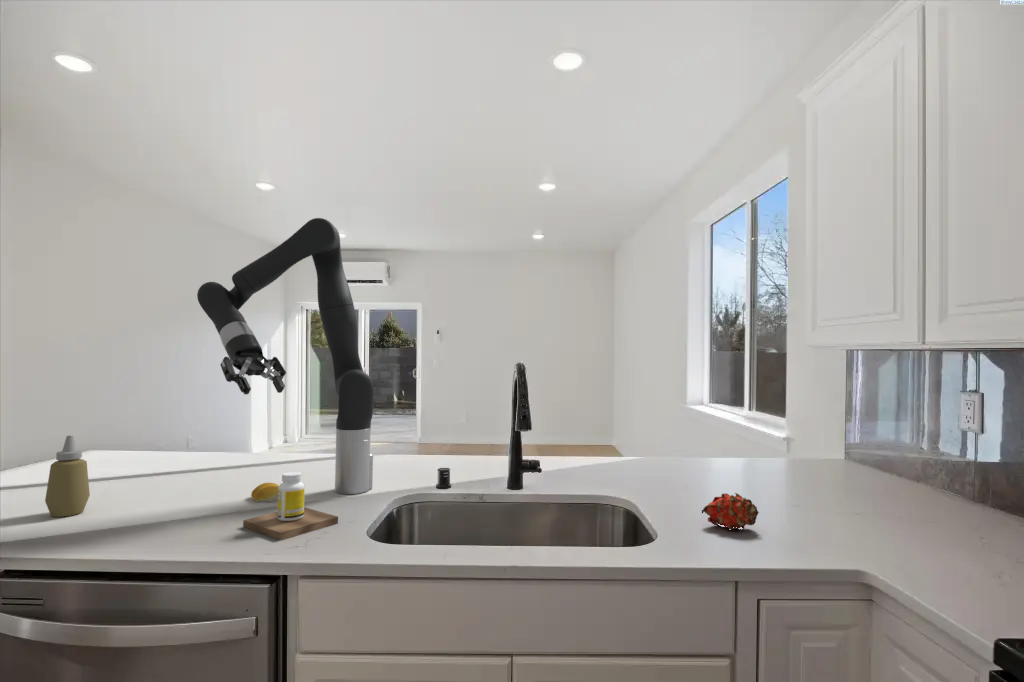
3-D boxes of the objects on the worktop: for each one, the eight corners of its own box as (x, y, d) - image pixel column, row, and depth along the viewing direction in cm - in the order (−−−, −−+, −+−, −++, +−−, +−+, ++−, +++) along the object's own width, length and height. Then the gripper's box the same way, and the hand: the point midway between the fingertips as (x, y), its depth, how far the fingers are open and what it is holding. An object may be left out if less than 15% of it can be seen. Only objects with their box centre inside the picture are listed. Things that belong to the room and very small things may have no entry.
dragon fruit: (763, 540, 120) (706, 542, 124) (755, 508, 127) (701, 511, 131) (762, 514, 116) (702, 517, 119) (754, 483, 123) (697, 487, 126)
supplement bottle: (309, 516, 123) (310, 472, 123) (292, 523, 118) (293, 477, 118) (289, 513, 125) (290, 470, 125) (271, 520, 120) (272, 475, 120)
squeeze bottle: (96, 511, 129) (99, 435, 130) (56, 521, 122) (59, 439, 122) (77, 507, 133) (79, 432, 133) (36, 516, 125) (39, 436, 126)
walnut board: (300, 512, 131) (300, 506, 131) (337, 523, 123) (338, 516, 123) (243, 527, 120) (243, 520, 120) (280, 540, 112) (280, 532, 112)
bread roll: (258, 505, 137) (259, 489, 137) (248, 498, 144) (248, 483, 144) (292, 500, 143) (292, 484, 143) (280, 493, 149) (280, 478, 149)
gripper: (217, 331, 131) (242, 381, 125) (273, 334, 143) (298, 379, 136) (206, 353, 134) (229, 403, 128) (261, 354, 146) (285, 399, 139)
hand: (265, 391), depth 132 cm, fingers open, 8 cm apart
